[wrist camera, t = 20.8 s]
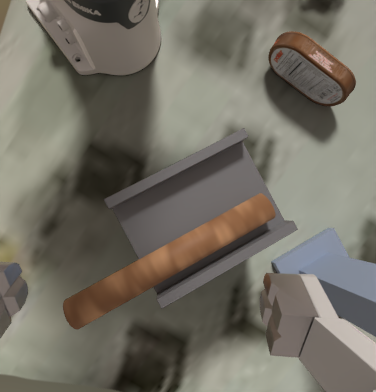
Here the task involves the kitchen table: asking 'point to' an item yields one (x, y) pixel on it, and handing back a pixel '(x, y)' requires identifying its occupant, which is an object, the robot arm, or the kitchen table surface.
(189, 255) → the dowel
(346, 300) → the shelf post
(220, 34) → the kitchen table surface
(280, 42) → the tin
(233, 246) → the tray stand
